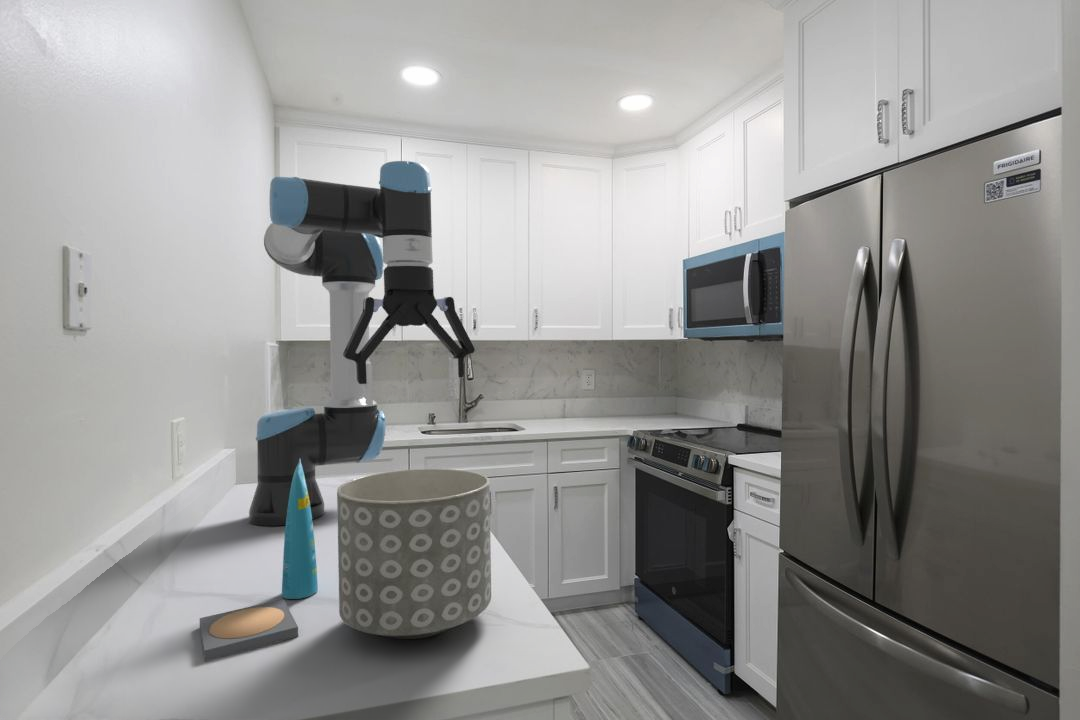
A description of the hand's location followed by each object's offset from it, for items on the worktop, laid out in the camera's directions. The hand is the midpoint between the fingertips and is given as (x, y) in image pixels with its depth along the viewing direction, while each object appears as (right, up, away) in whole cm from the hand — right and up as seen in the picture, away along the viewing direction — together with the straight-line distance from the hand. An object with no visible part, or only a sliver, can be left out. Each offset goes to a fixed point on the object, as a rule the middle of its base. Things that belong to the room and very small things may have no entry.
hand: (413, 401), depth 91 cm
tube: (-15, -28, -7) cm, 32 cm away
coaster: (-17, -28, -19) cm, 37 cm away
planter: (+4, -28, -17) cm, 33 cm away
